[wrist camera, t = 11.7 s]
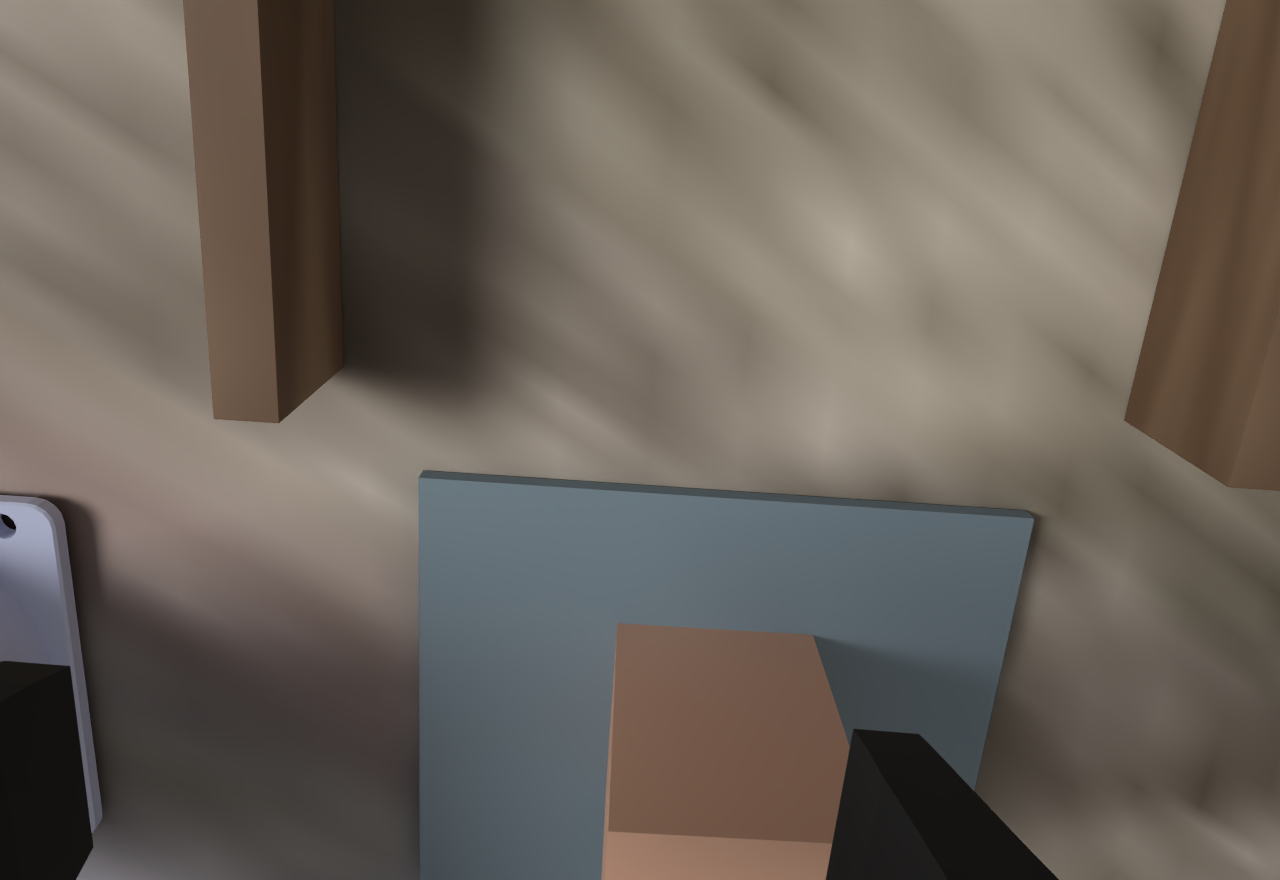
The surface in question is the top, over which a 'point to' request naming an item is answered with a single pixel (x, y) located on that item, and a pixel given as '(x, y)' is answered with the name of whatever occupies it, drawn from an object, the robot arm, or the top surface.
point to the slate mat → (679, 597)
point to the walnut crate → (311, 257)
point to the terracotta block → (720, 757)
